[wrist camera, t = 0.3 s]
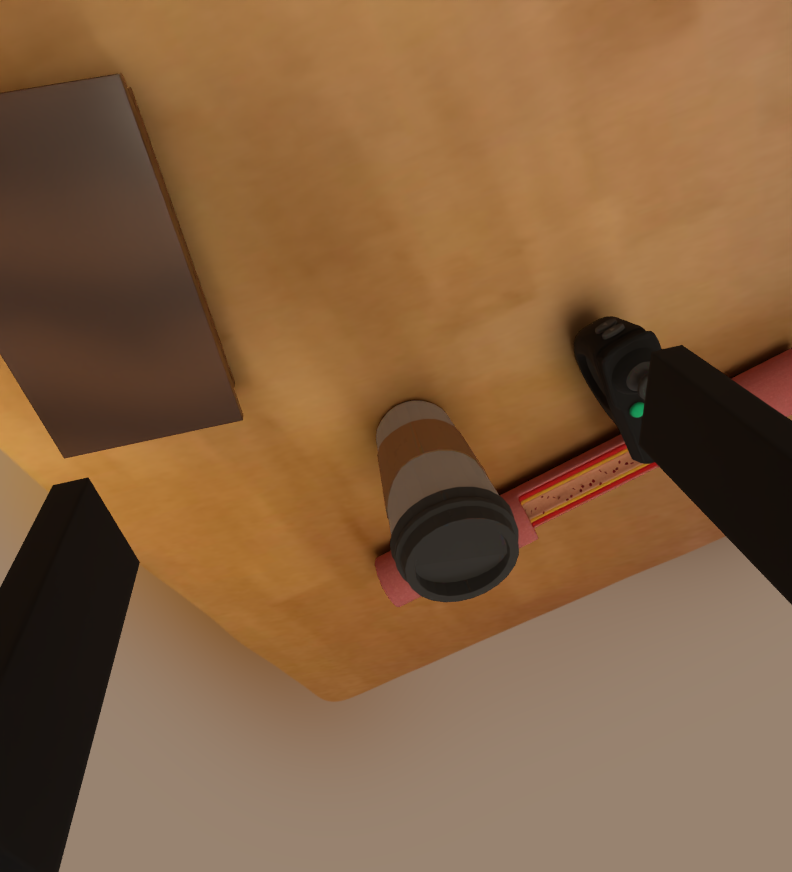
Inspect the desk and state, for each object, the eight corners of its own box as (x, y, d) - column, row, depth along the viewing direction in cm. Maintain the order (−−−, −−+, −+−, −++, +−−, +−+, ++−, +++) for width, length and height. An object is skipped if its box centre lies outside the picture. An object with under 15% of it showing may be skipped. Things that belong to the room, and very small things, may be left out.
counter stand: (-93, 110, 29) (-146, 117, 25) (137, 72, 30) (119, 73, 26) (82, 423, 41) (64, 458, 37) (245, 388, 41) (243, 420, 38)
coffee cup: (457, 464, 49) (518, 597, 37) (364, 475, 48) (396, 616, 36) (463, 382, 45) (536, 502, 32) (361, 391, 43) (396, 520, 31)
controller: (598, 283, 42) (677, 337, 34) (637, 399, 49) (710, 466, 41) (548, 313, 43) (613, 372, 34) (593, 423, 50) (656, 494, 41)
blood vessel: (790, 335, 48) (838, 360, 44) (792, 378, 51) (837, 405, 47) (370, 548, 53) (378, 588, 49) (393, 577, 56) (403, 617, 52)
